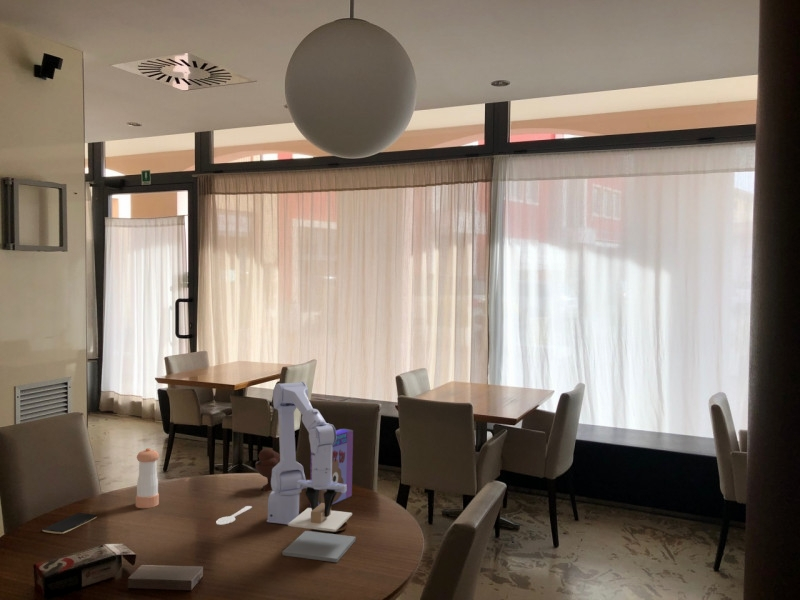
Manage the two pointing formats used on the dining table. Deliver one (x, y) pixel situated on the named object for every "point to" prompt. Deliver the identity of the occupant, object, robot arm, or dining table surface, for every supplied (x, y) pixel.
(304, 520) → the lid
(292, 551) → the mat
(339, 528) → the burger
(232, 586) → the dining table surface
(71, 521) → the smartphone
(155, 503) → the pepper shaker
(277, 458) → the ice cream bowl
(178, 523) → the dining table surface
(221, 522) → the spoon
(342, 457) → the cereal box
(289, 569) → the dining table surface
